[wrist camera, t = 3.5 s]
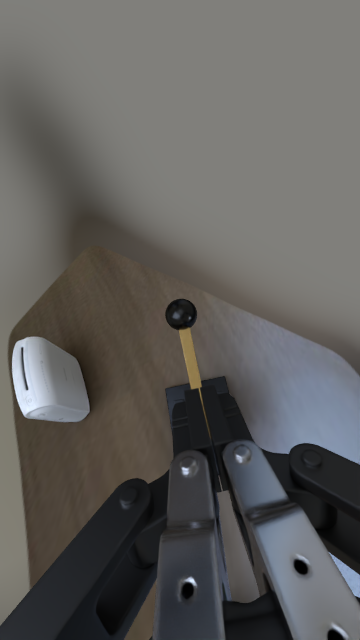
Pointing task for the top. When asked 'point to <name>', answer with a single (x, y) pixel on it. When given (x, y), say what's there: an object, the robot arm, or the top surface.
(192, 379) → the lever
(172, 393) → the bracket
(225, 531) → the top surface
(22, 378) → the photo printer
